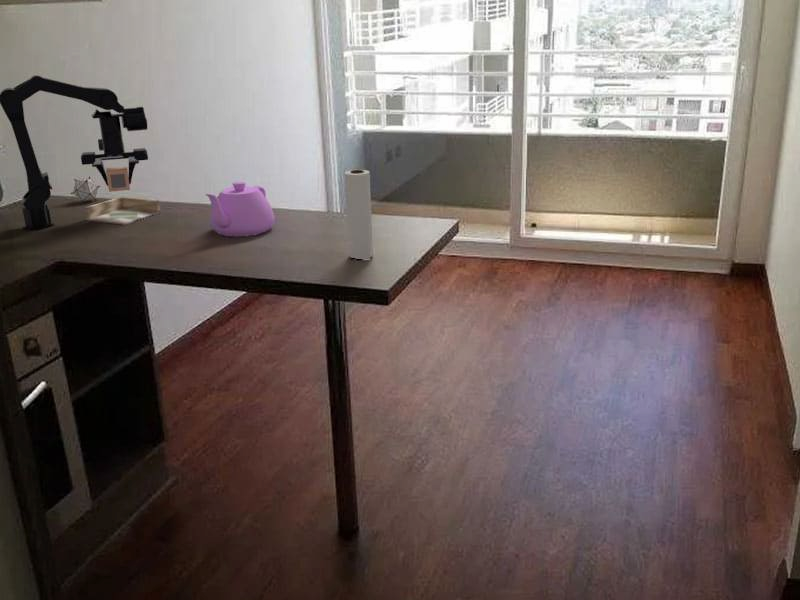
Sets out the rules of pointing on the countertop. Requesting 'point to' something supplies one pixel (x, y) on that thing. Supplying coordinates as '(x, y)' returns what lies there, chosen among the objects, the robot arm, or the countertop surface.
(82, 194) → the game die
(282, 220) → the countertop surface
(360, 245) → the paper towel roll
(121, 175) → the cube
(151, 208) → the tray
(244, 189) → the teapot
